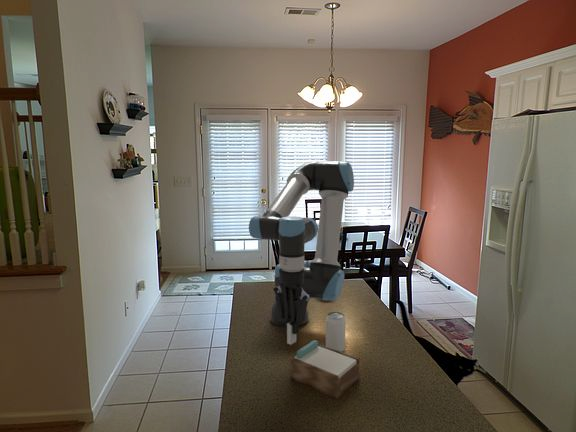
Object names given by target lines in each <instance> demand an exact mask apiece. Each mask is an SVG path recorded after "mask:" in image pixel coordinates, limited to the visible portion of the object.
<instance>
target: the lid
mask: <svg viewBox="0 0 576 432" xmlns="http://www.w3.org/2000/svg"><path fill="white" fill-rule="evenodd" d="M318 344H319V341H318V340H316V339H313V340H311V341H310V342H309V343H308V344H305V345H304V346H303V347H300V349H298V350H296V355H295V356H293V357H294V358H296V359H299V360H301V361H303V362H306V363H308V364H311V365H313V366H316V367H318V368H321V369H323V370H325V371H328V372H330V373H333V374H335V375H338V379H339V378H340V377H341V376H343V375H344V374H345V373H346V372H347V371H349V370H350V369H351V368H352V367H353V366H354V365H356V363H357V360H355V359H353V358H350V357H347V356H344V355H342V354H339V353H336V352H334V351H331V350H328V349H325V348H323V347H320V346H318Z"/></svg>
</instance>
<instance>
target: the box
mask: <svg viewBox="0 0 576 432" xmlns="http://www.w3.org/2000/svg"><path fill="white" fill-rule="evenodd" d="M318 346H320V347H323V348H325V349H328V350H331V351H334V352H336V353H339V354H342V355H344V356H347V357H350V358H353V359H355V360H357V363H356V365H354V366H353V367H352V368H351V369H350V370H349V371H347V372H346V373H345V374H344V375H343V376H341V377H340V378H339V379H338V375H335V374H333V373H330V372H328V371H325V370H323V369H321V368H318V367H316V366H313V365H311V364H308V363H306V362H303V361H301V360H299V359H296V358H294V357H295V356H290V358H289V359H290V360H289V361H290V363H289V366H290V369H289V371H290V379H292V380H294V381H297V382H299V383H301V384H304V385H305V386H307V387H309V388H312V389H314V390H316V391H319V392H321V393H323V394H325V395H327V396H329V397H331V398H333V399H335V400H337V399H339V398H340V397H341V396H342V395H344V393H345V392H347V391H348V390H349V389H350V388H351V387H353V385H354V384H355V383H357V382H358V381H359V379H360V358H359V357H356V356H354V355H351V354H348V353H346V352H344V351H343V352H340V351H338V350H335V349H332V348H329V347H327V346H326V345H323V344H320V343H318Z"/></svg>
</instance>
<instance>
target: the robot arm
mask: <svg viewBox="0 0 576 432" xmlns="http://www.w3.org/2000/svg"><path fill="white" fill-rule="evenodd" d="M354 188H355V176H354V171H353V167H352V165H351V163H350V162H349V161H340V160H338V161H335V160H333V161H330V160H329V161H326V160H325V161H321V160H320V161H318V160H317V161H315V160H313V161H309V162H305V163H304V164H302V165H300V166H299V167H297V168H295V169H294V170H293V171H292V172H291V173H290V174H289V175H288V177H287V179H286V184H285V185H284V187H283V188H282V190H281V191H280V192H279V193H278V194H277V196H276V198H274V200H273V201H272V203H271V204H270V205H269V207H268V208H267V209H266V211H265V212H264V213H263V215H262V216H260V215H257V216H256V215H255V216H252V217H251V218H250V220H249V223H248V231H249V236H250V237H251V238H253V239H260V240H261V241H262V240H267V241H269V240H270V241H279V242H278V243H279V245H278V247H279V250H278V251H279V257H278V258H279V260H278V261H279V263H278V264H277V265H275V268H274V275H273V279H274V287H273V292H274V301H273V305H272V308H271V312H270V321H271V323H272V324H274V325H276V326H279V327H284V328H285V332H286V337H287V338H286V344H287V345H291V346H292V345H294V343H297V334H298V332H299V327H301V326H303V325H306V324H307V323H308V322H309V311H308V309H307V308H308V304H309V301H310V299H315V300H322V301H336V300H337V299H338V298H339V297H340V296H341V293H342V291H343V288H344V287H343V286H344V284H345V271H344V270H343V269H341V267H342V266H341V264H340V262H338V256H339V249H340V248H339V247H340V238H341V229H342V228H341V227H342V218H343V211H344V210H343V209H344V201H345V200H346V199H347V198H348V197H349V193H350V192H353V191H354ZM309 191H318V194H319V196H320V197H321V203H320V209H319V210H320V212H319V219H318V220H319V222H318V223H317V222H316V221H315V220H314V219H313V218H311V217H301V216H294V215H293V216H290V214H291V213H292V212H293V210H294V209H295V207H296V206H297V204H298V203H299V201H300V200H301V198H302V196H303V195H306V194H307V193H308V192H309ZM316 236H317V237H316ZM315 237H316V247H315V253H314V259H312V260H311V261H310V263H309V266H305V265H306V264H305V244H307V243H308V242H311V241H312V240H314V238H315Z"/></svg>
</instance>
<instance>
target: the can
mask: <svg viewBox="0 0 576 432" xmlns="http://www.w3.org/2000/svg"><path fill="white" fill-rule="evenodd" d="M325 346H327V347H329V348H332V349H335V350H338V351H340V352H343V353H344V351H345V350H346V318H345V314H344V313H342V312H339V311H331V312H329V313H327V315H326V319H325Z"/></svg>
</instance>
